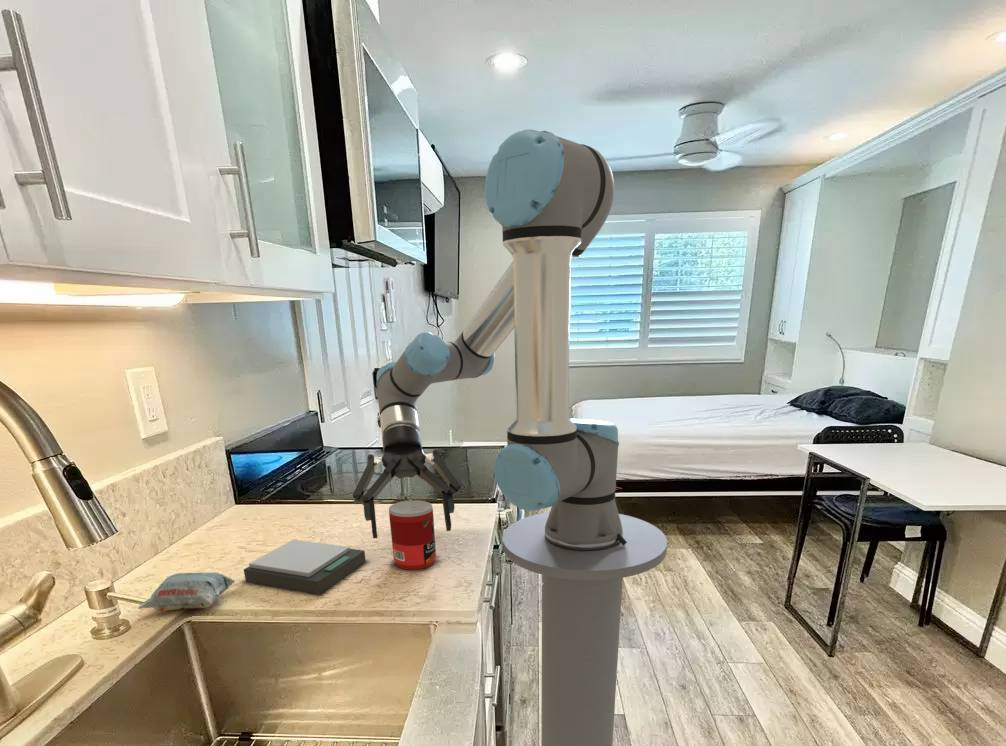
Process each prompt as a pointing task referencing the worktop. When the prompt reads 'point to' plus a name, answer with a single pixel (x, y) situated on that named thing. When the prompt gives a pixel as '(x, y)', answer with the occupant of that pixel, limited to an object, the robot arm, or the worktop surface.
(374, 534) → the robot arm
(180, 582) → the packaged food
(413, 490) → the worktop surface
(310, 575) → the kitchen scale
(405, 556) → the canned food
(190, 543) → the worktop surface
